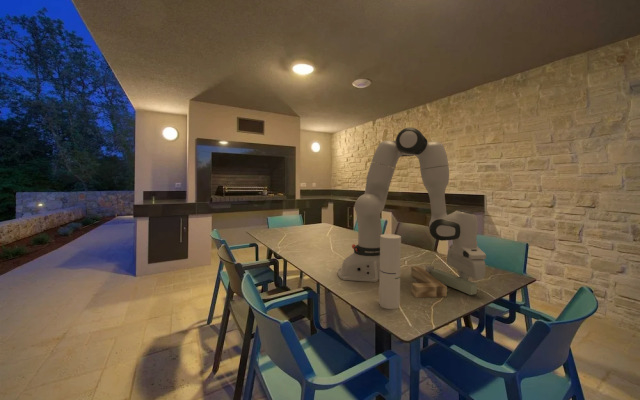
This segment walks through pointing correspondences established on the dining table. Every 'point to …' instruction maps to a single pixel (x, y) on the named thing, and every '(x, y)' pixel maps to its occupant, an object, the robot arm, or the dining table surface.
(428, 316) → the dining table surface
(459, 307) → the dining table surface
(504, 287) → the dining table surface
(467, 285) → the folding leg
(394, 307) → the cylindrical container
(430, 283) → the l-shaped wooden joint
